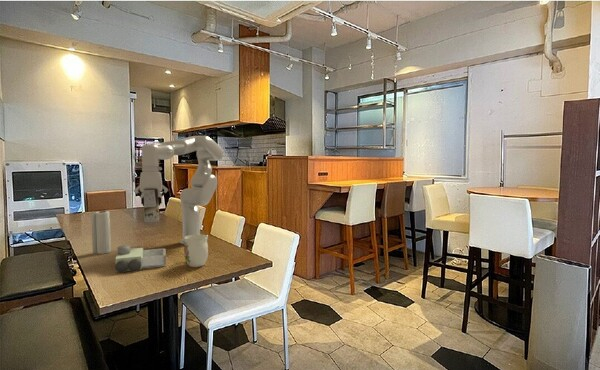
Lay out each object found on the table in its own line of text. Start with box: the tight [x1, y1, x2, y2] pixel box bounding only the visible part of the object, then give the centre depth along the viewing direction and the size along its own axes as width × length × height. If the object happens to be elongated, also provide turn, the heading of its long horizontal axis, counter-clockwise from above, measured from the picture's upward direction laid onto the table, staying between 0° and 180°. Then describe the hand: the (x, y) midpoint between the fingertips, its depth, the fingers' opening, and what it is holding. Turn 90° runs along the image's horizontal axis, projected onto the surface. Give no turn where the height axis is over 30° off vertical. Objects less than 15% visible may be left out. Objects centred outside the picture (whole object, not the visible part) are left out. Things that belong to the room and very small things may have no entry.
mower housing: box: [114, 244, 144, 274], centre depth 152 cm, size 10×18×9 cm, turn 22°
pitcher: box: [183, 233, 209, 268], centre depth 155 cm, size 11×18×14 cm, turn 36°
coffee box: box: [143, 189, 160, 223], centre depth 166 cm, size 9×6×16 cm
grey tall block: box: [90, 210, 112, 255], centre depth 172 cm, size 7×6×21 cm
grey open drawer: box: [141, 247, 167, 270], centre depth 156 cm, size 10×13×5 cm
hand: (151, 205), depth 166 cm, fingers closed on coffee box, 6 cm apart
